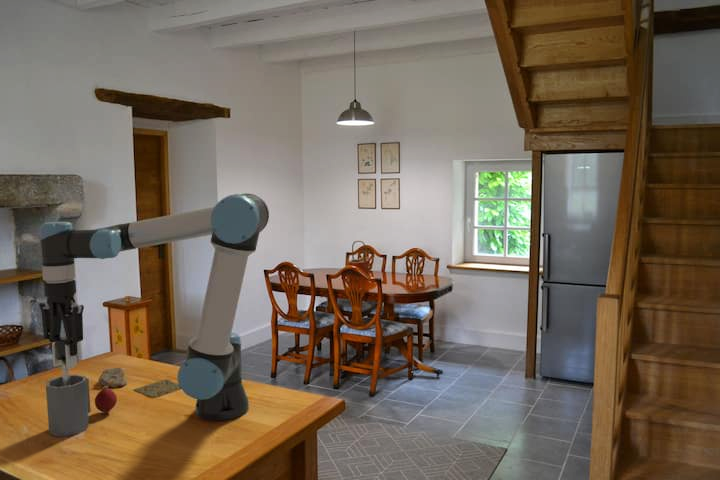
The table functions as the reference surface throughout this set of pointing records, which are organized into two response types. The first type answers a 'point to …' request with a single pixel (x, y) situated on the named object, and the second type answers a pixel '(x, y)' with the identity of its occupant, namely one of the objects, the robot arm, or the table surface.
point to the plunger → (62, 356)
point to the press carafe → (68, 405)
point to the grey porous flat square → (158, 388)
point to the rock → (113, 377)
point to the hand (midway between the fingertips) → (65, 365)
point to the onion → (105, 400)
